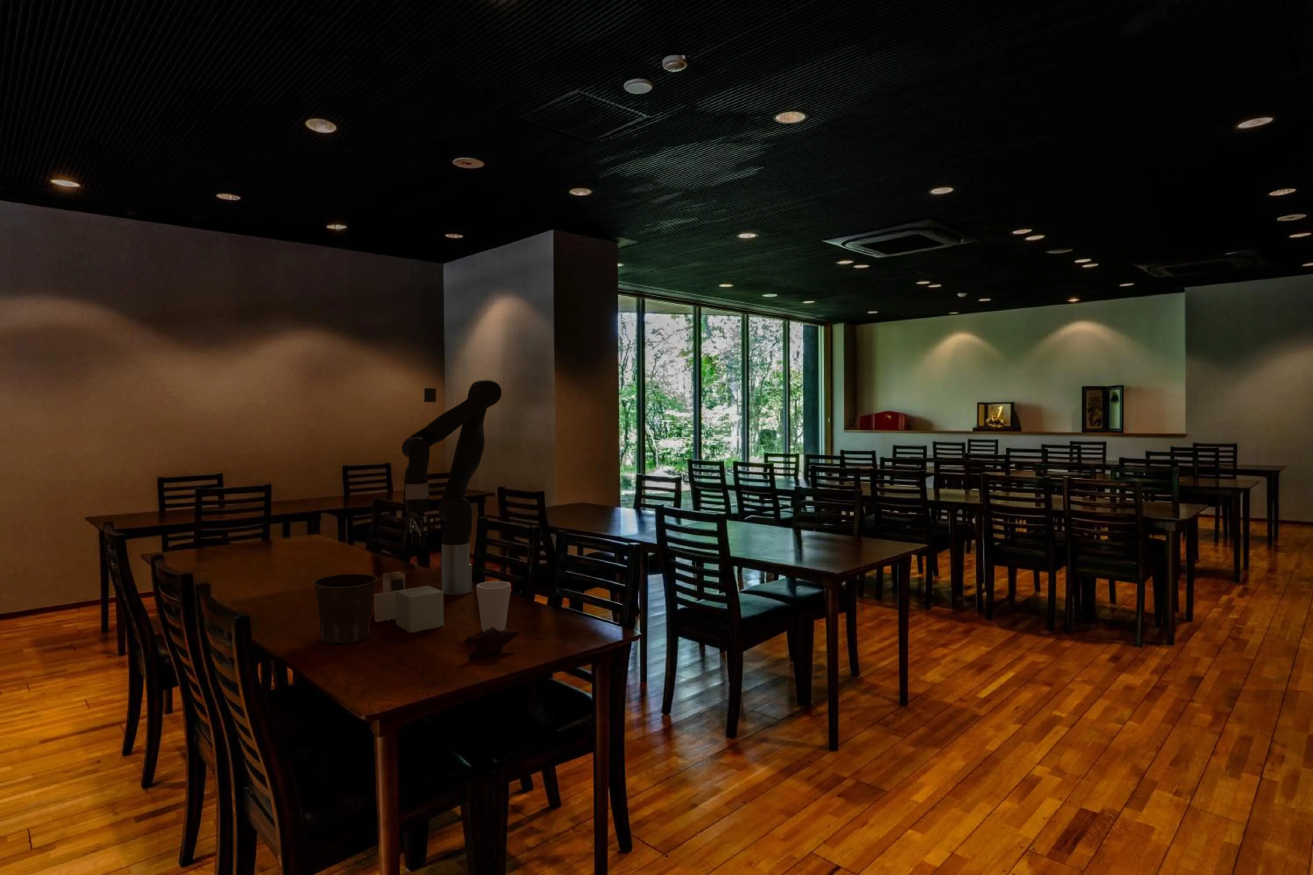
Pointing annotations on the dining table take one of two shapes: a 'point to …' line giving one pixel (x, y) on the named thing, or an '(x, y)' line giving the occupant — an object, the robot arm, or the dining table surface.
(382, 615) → the screen
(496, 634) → the icecream
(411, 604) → the stand
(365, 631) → the plant pot
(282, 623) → the dining table surface
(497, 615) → the foam cup
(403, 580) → the birch block
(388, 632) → the dining table surface
